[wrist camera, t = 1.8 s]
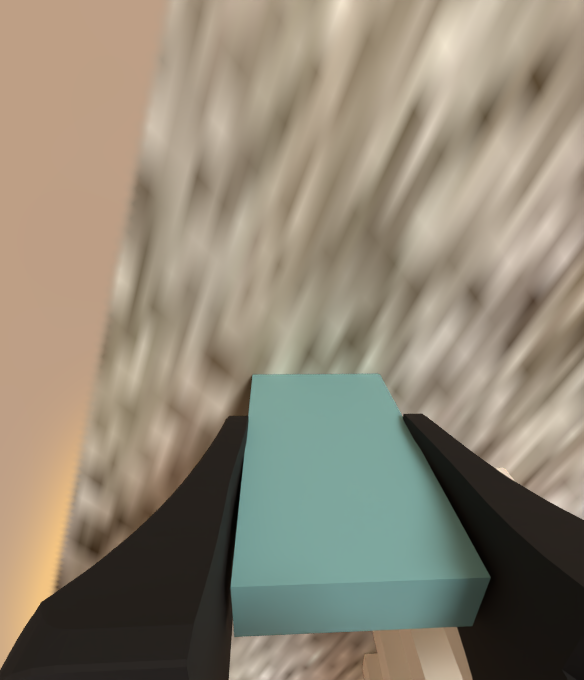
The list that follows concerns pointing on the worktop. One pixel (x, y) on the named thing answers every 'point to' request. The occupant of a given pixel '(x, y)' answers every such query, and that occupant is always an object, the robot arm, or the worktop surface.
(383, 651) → the domino
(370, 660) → the domino
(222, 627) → the robot arm
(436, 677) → the domino
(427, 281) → the worktop surface
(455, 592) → the end tile
